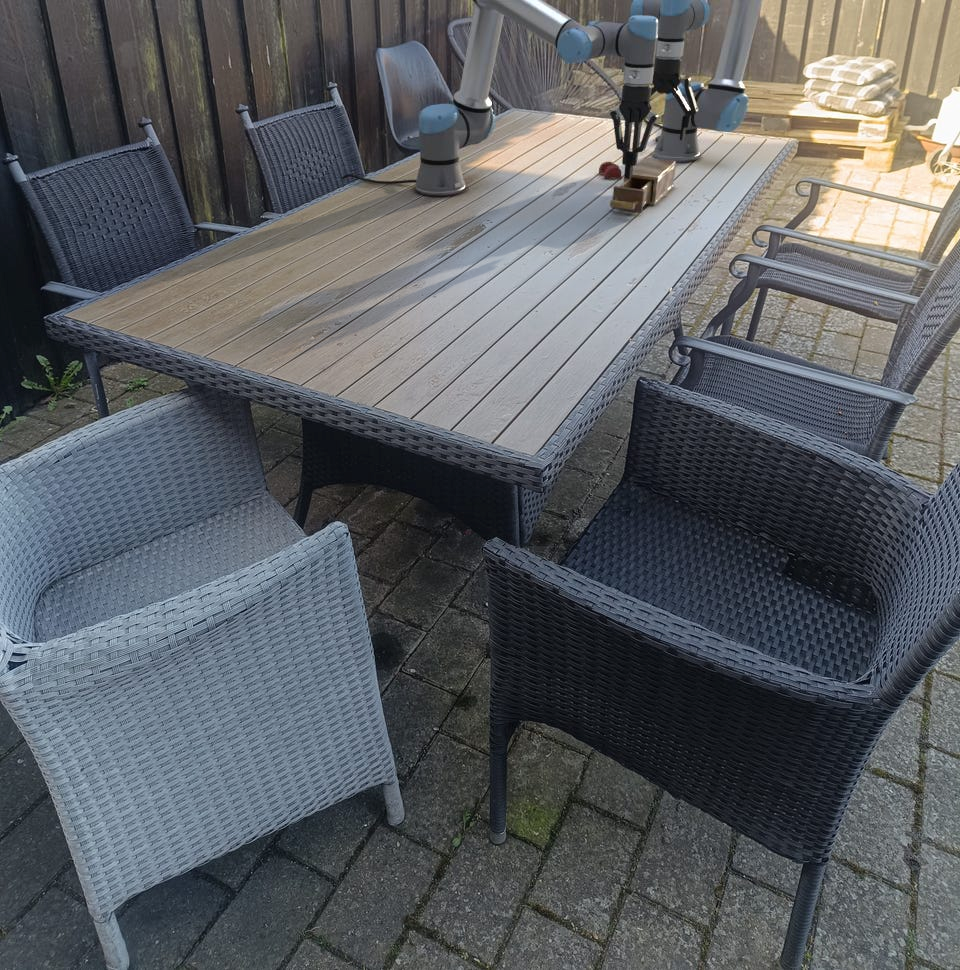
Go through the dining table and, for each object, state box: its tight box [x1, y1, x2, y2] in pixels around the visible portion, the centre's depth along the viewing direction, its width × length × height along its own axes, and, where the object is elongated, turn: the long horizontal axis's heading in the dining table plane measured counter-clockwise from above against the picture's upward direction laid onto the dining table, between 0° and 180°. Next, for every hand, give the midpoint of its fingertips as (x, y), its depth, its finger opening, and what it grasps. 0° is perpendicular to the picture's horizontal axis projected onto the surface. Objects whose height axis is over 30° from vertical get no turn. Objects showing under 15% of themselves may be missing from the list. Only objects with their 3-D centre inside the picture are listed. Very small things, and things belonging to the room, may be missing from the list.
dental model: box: [598, 161, 623, 179], centre depth 269 cm, size 6×4×8 cm
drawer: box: [609, 177, 654, 214], centre depth 242 cm, size 24×9×6 cm, turn 154°
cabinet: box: [623, 156, 677, 206], centre depth 252 cm, size 20×10×8 cm, turn 153°
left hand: (628, 177), depth 232 cm, fingers closed
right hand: (659, 136), depth 250 cm, fingers open, 13 cm apart
